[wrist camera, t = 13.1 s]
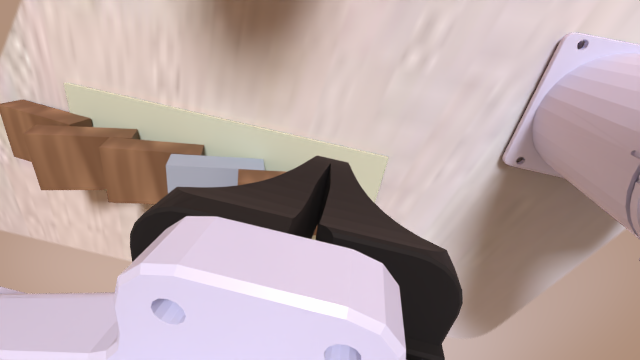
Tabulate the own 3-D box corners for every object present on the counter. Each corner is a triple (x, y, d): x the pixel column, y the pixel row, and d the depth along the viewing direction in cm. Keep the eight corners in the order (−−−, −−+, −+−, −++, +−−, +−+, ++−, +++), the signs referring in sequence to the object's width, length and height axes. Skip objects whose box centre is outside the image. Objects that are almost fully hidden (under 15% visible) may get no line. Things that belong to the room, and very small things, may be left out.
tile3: (200, 154, 22) (99, 147, 21) (201, 205, 24) (108, 202, 23) (204, 144, 24) (109, 137, 22) (204, 193, 26) (117, 189, 24)
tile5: (69, 124, 23) (-3, 104, 23) (80, 176, 25) (14, 156, 25) (90, 118, 24) (23, 99, 25) (99, 167, 26) (36, 149, 27)
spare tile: (264, 169, 22) (165, 165, 20) (260, 220, 24) (170, 219, 22) (263, 158, 23) (171, 153, 22) (259, 207, 25) (174, 205, 24)
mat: (388, 156, 22) (388, 158, 22) (358, 252, 26) (358, 254, 26) (67, 82, 24) (63, 83, 23) (87, 183, 28) (85, 185, 28)
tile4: (131, 138, 23) (22, 134, 21) (139, 189, 25) (41, 190, 23) (137, 129, 24) (36, 124, 22) (144, 178, 26) (52, 178, 24)
